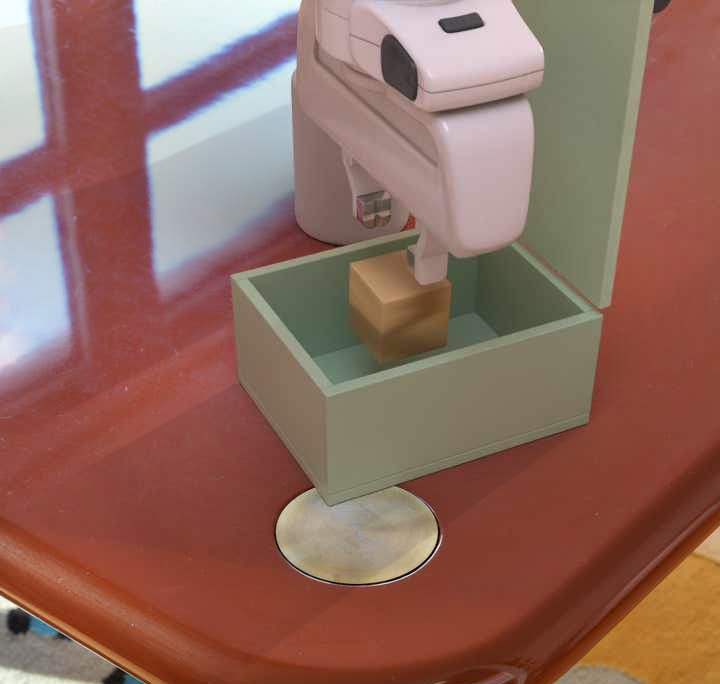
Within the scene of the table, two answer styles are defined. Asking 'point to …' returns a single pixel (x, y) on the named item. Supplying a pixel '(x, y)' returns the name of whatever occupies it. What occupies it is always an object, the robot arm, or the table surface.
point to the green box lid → (584, 133)
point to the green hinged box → (412, 366)
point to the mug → (328, 186)
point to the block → (396, 308)
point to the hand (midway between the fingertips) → (398, 249)
